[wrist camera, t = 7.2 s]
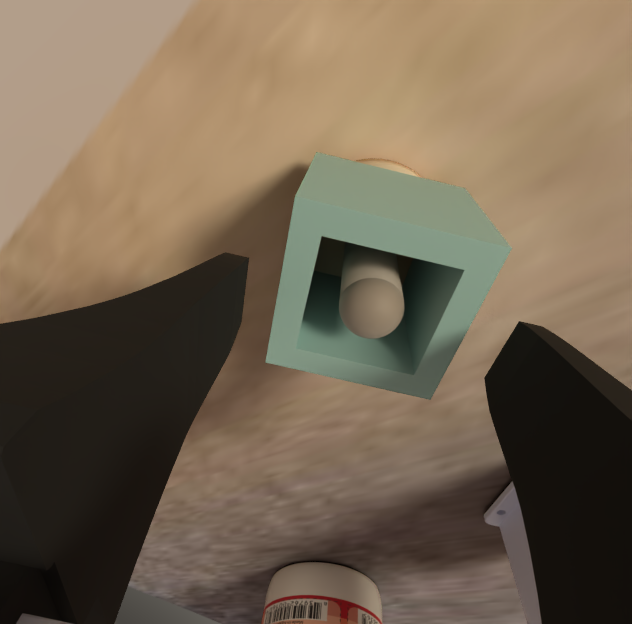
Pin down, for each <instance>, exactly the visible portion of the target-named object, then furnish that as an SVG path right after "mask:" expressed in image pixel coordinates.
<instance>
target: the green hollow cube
mask: <svg viewBox="0 0 632 624" xmlns="http://www.w3.org/2000/svg"><path fill="white" fill-rule="evenodd" d="M322 236H324V237H328V238H332V239H336V240H340V241H345V242H349V243H353V244H357V245H362V246H366V247H370V248H374V249H378V250H383V251H387V252H391V253H395V254H399V255H404V256H408V257H412V258H413V260H412V263H411V265H410V268H409V270H408V273H407V276H406V278H405V281H404V283H403V286H402V292H403V298H404V314H403V317H402V320H401V322H400V323H399V325H398V326H397V327H396V328H395V330H393V331H392V332H391V333H390V334H388V335H386V336H384V337H381V338H376V339H367V338H363V337H360V336H357V335H355V334H354V333H352V332H351V331H350V330H349V329H348V328H347V327H346V326H345V324H344V323H343V321H342V319H341V316H340V312H339V299H340V289H341V279H342V277H339V276H335V275H330V274H326V273H322V272H317V271H314V267H315V262H316V258H317V254H318V249H319V245H320V241H321V237H322ZM511 249H512V248H511V246H510V245H509V244H508V243H507V241H506V240H505V239H504V237H503V236H502V235H501V234H500V232H499V231H498V230H497V229H496V227H495V226H494V225H493V223H492V222H491V221H490V220H489V218H488V217H487V216H486V214H485V213H484V212H483V211H482V209H481V208H480V207H479V206H478V204H477V203H476V202H475V200H474V199H473V198H472V197H471V195H470V194H469V193H468V191H467V190H466V189H465V188H462V187H458V186H454V185H449V184H445V183H441V182H437V181H433V180H429V179H425V178H421V177H417V176H413V175H408V174H404V173H400V172H396V171H392V170H388V169H384V168H380V167H376V166H372V165H367V164H363V163H359V162H355V161H351V160H347V159H343V158H339V157H335V156H331V155H326V154H322V153H318V152H316V154H315V157H314V159H313V161H312V163H311V165H310V167H309V169H308V171H307V173H306V175H305V177H304V179H303V181H302V183H301V185H300V187H299V189H298V191H297V193H296V195H295V200H294V205H293V211H292V216H291V222H290V228H289V233H288V239H287V244H286V250H285V256H284V261H283V267H282V272H281V278H280V283H279V289H278V295H277V300H276V306H275V311H274V317H273V323H272V328H271V334H270V339H269V345H268V351H267V356H266V363H270V364H275V365H279V366H283V367H288V368H292V369H297V370H301V371H305V372H310V373H314V374H319V375H323V376H328V377H332V378H336V379H341V380H345V381H350V382H354V383H358V384H363V385H367V386H372V387H376V388H381V389H385V390H389V391H394V392H398V393H403V394H407V395H411V396H416V397H420V398H425V399H429V400H430V399H431V398H432V396H433V394H434V392H435V390H436V388H437V386H438V385H439V383H440V381H441V379H442V377H443V375H444V373H445V372H446V370H447V368H448V366H449V364H450V362H451V360H452V359H453V357H454V355H455V353H456V351H457V349H458V347H459V346H460V344H461V342H462V340H463V338H464V336H465V334H466V333H467V331H468V329H469V327H470V325H471V323H472V321H473V320H474V318H475V316H476V314H477V312H478V310H479V308H480V306H481V305H482V303H483V301H484V299H485V297H486V295H487V293H488V292H489V290H490V288H491V286H492V284H493V282H494V280H495V279H496V277H497V275H498V273H499V271H500V269H501V267H502V266H503V264H504V262H505V260H506V258H507V256H508V254H509V253H510V251H511Z"/></svg>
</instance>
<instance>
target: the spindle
mask: <svg viewBox="0 0 632 624" xmlns="http://www.w3.org/2000/svg"><path fill="white" fill-rule="evenodd" d="M355 162H359V163H363V164H367V165H372V166H376V167H380V168H384V169H388V170H392V171H396V172H400V173H404V174H408V175H413V176H417V177H421V176H420V175H419V174H418V173H416V172H415V171H413V170H412V169H410V168H408V167H406V166H404V165H402V164H400V163H397V162H393V161H390V160H384V159H362V160H356V161H355ZM421 178H422V177H421ZM412 260H413V258H412V257H408V256H404V255H399V254H395V253H391V252H387V251H383V250H378V249H374V248H370V247H366V246H362V245H357V244H353V243H349V242H345V241H340V240H336V239H332V238H328V237H324V236H322V237H321V241H320V245H319V249H318V254H317V258H316V262H315V267H314V271H317V272H322V273H326V274H330V275H335V276H339V277H342V279H341V289H340V299H339V312H340V316H341V319H342V321H343V323H344V324H345V326H346V327H347V328H348V329H349V330H350V331H351V332H352V333H354V334H355V335H357V336H360V337H363V338H367V339H376V338H381V337H384V336H386V335H388V334H390V333H391V332H392V331H393V330H395V328H396V327H397V326H398V325H399V323H400V322H401V320H402V317H403V314H404V298H403V292H402V286H403V283H404V281H405V278H406V276H407V273H408V270H409V268H410V265H411V263H412Z"/></svg>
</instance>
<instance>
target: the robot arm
mask: <svg viewBox="0 0 632 624" xmlns="http://www.w3.org/2000/svg"><path fill="white" fill-rule="evenodd" d="M248 262H249V258H247V257H243V256H238V255H234V254H230V253H223V254H221V255H218V256H216V257H214V258H212V259H210V260H208V261H206V262H204V263H202V264H200V265H198V266H195V267H193V268H191V269H189V270H187V271H185V272H183V273H180V274H178V275H176V276H174V277H172V278H169V279H167V280H164V281H162V282H159V283H157V284H154V285H152V286H149V287H147V288H144V289H142V290H139V291H136V292H134V293H131V294H128V295H125V296H122V297H119V298H115V299H112V300H108V301H105V302H102V303H98V304H95V305H91V306H87V307H83V308H78V309H74V310H69V311H65V312H60V313H56V314H51V315H47V316H42V317H38V318H32V319H27V320H21V321H15V322H9V323H3V324H0V624H114V623H115V620H116V617H117V614H118V611H119V609H120V606H121V603H122V600H123V598H124V595H125V592H126V589H127V587H128V584H129V581H130V578H131V575H132V573H133V570H134V567H135V564H136V562H137V559H138V556H139V554H140V551H141V548H142V546H143V543H144V540H145V538H146V535H147V533H148V530H149V527H150V525H151V522H152V519H153V517H154V514H155V511H156V509H157V506H158V504H159V501H160V499H161V496H162V494H163V491H164V489H165V486H166V484H167V481H168V479H169V476H170V473H171V471H172V469H173V466H174V464H175V461H176V459H177V456H178V454H179V452H180V449H181V447H182V444H183V442H184V439H185V437H186V435H187V433H188V430H189V428H190V426H191V424H192V422H193V420H194V418H195V416H196V414H197V413H198V411H199V409H200V407H201V405H202V403H203V401H204V400H205V398H206V396H207V394H208V392H209V390H210V389H211V387H212V385H213V383H214V381H215V379H216V378H217V376H218V374H219V372H220V370H221V368H222V366H223V364H224V363H225V361H226V359H227V357H228V355H229V353H230V351H231V348H232V346H233V343H234V341H235V338H236V335H237V332H238V330H239V327H240V324H241V321H242V312H243V304H244V295H245V287H246V279H247V270H248ZM485 385H486V393H487V399H488V405H489V410H490V414H491V417H492V420H493V424H494V427H495V430H496V433H497V436H498V439H499V442H500V445H501V448H502V451H503V454H504V457H505V460H506V463H507V466H508V469H509V472H510V475H511V478H512V482H511V483H510V484H509V486H508V487H507V488H506V489H505V490H504V491H503V493H502V494H501V495H500V496H499V497H498V499H497V500H496V501H495V502H494V503H493V504H492V506H491V507H490V508H489V509H488V510H487V511H486V513H485V514H484V519H485V522H486V523H487V524H490V525H494V526H498V527H500V531H501V534H502V538H503V541H504V545H505V548H506V551H507V555H508V558H509V562H510V565H511V569H512V572H513V576H514V579H515V582H516V586H517V589H518V593H519V596H520V600H521V603H522V606H523V610H524V613H525V617H526V620H527V624H632V390H631V389H629V388H628V387H626V386H625V385H624V384H622V383H621V382H620V381H618V380H617V379H616V378H614V377H613V376H611V375H610V374H609V373H607V372H606V371H605V370H603V369H602V368H601V367H599V366H598V365H597V364H595V363H594V362H593V361H591V360H590V359H589V358H587V357H586V356H585V355H583V354H582V353H581V352H579V351H578V350H577V349H575V348H574V347H573V346H571V345H570V344H568V343H567V342H566V341H564V340H563V339H561V338H560V337H558V336H557V335H555V334H554V333H552V332H551V331H549V330H547V329H545V328H544V327H542V326H537V325H533V324H529V323H525V322H520V321H519V322H518V324H517V326H516V327H515V329H514V331H513V332H512V334H511V335H510V337H509V339H508V340H507V342H506V344H505V345H504V347H503V348H502V350H501V352H500V353H499V355H498V357H497V358H496V360H495V361H494V363H493V365H492V366H491V368H490V370H489V371H488V373H487V375H486V376H485Z"/></svg>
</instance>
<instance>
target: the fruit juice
mask: <svg viewBox="0 0 632 624" xmlns="http://www.w3.org/2000/svg"><path fill="white" fill-rule="evenodd" d="M261 624H382V606H381V598H380V594H379V591H378V588H377V586H376V585H375V584H374V582H373V581H372V580H370V579H369V578H368V577H367V576H365V575H364V574H362V573H360V572H358V571H356V570H353V569H351V568H348V567H344V566H341V565H336V564H331V563H323V562H304V563H297V564H292V565H289V566H286V567H284V568H282V569H280V570H279V571H277V572H276V573H275V574H274V576H273V577H272V579H271V582H270V584H269V588H268V591H267V595H266V601H265V606H264V612H263V618H262V623H261Z"/></svg>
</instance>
